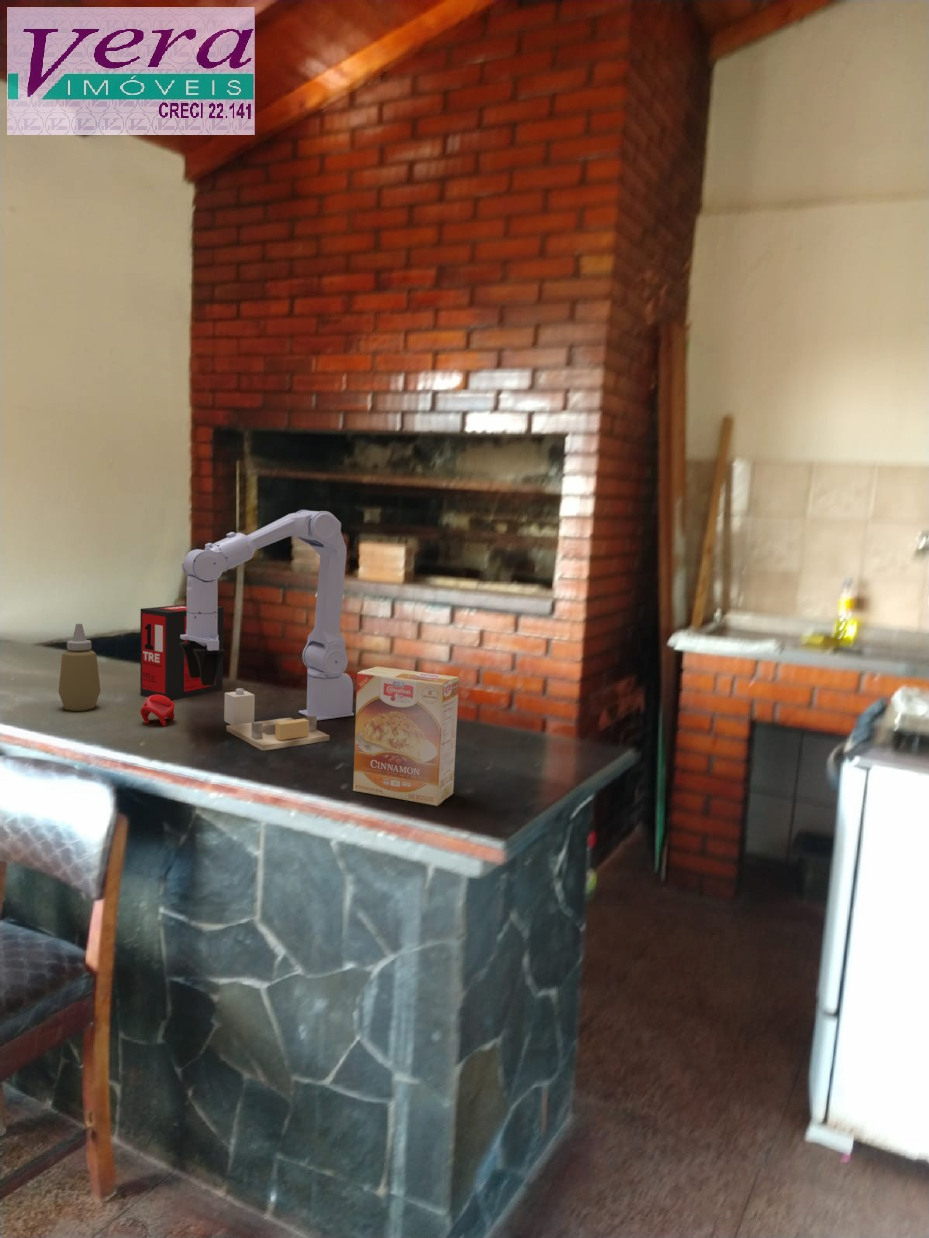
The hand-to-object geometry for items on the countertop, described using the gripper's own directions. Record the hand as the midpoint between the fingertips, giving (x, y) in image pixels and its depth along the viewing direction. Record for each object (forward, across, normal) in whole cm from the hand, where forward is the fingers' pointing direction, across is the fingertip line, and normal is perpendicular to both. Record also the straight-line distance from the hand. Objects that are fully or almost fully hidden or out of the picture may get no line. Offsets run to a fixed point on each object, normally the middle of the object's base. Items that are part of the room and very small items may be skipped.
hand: (201, 681), depth 166 cm
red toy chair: (+10, -9, -6) cm, 15 cm away
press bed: (+10, +9, +12) cm, 18 cm away
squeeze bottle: (+10, -27, -17) cm, 34 cm away
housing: (+10, -4, +9) cm, 14 cm away
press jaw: (+9, +15, +13) cm, 22 cm away
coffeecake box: (+10, +49, +18) cm, 53 cm away
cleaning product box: (+10, -34, +6) cm, 36 cm away
